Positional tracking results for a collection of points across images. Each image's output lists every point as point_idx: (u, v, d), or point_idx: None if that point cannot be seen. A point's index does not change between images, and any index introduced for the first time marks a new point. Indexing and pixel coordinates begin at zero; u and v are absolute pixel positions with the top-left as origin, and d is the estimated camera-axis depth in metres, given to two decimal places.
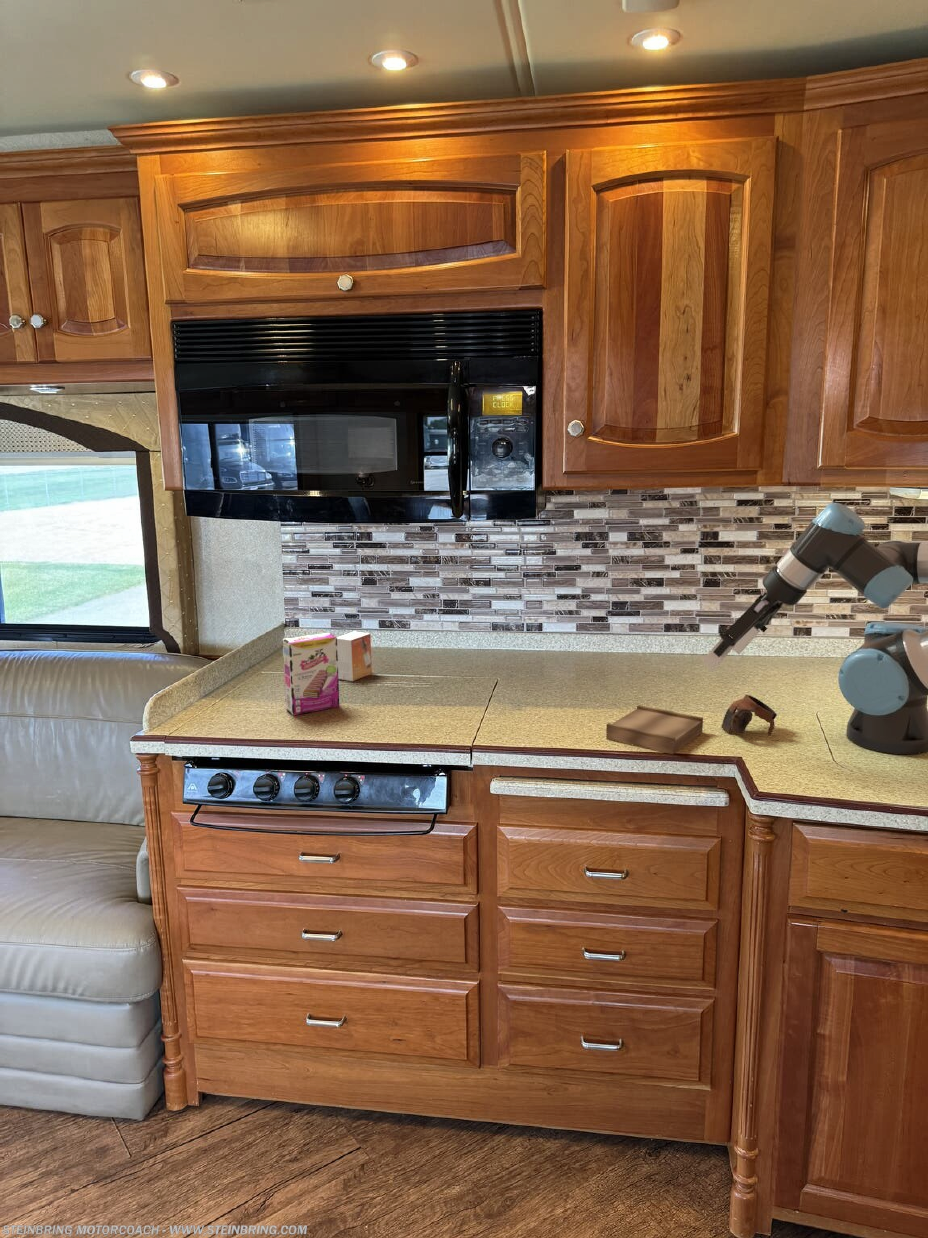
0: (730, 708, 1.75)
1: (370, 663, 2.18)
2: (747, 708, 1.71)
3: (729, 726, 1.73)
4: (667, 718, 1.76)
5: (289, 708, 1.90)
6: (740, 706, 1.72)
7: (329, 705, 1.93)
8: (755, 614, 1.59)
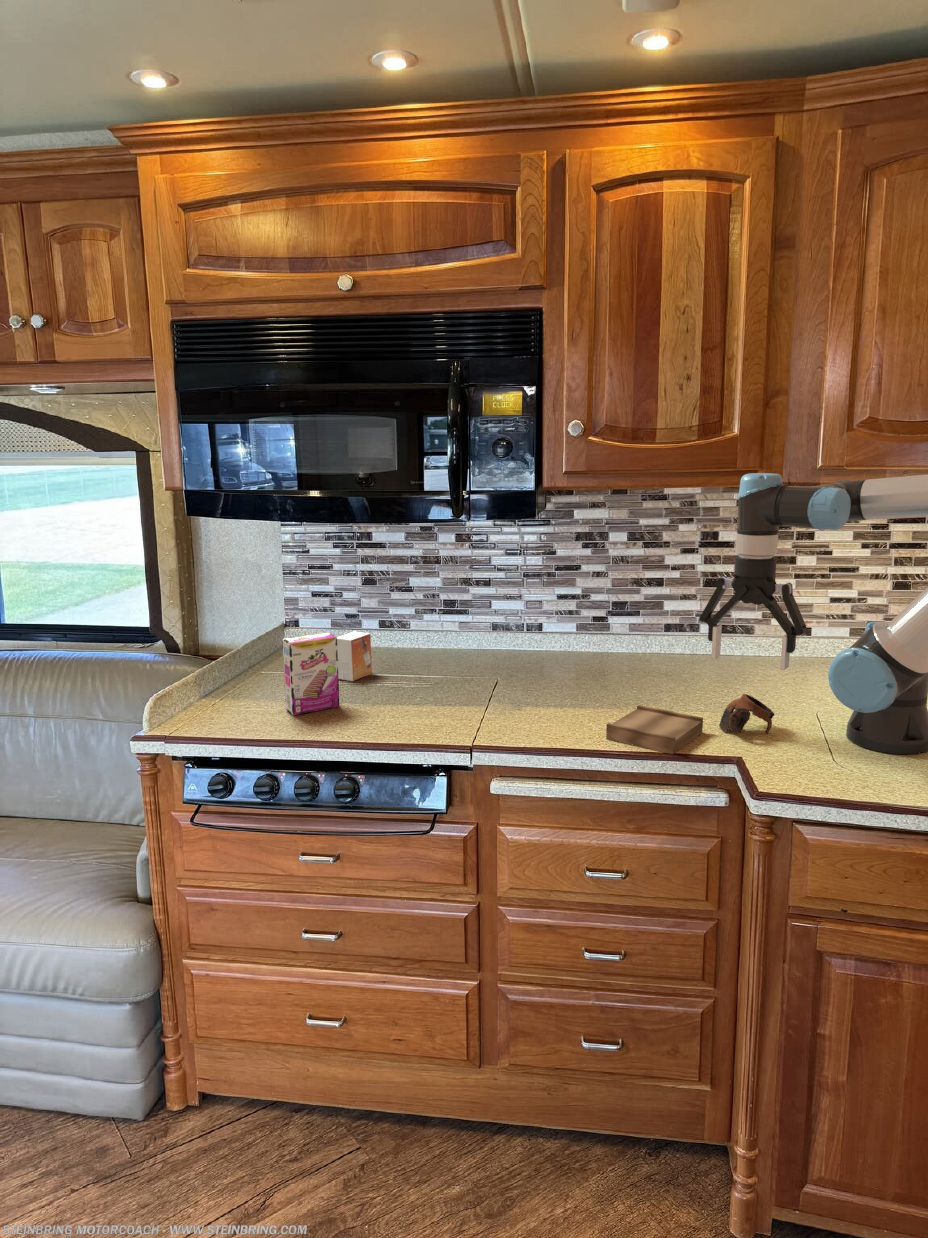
0: (728, 707, 1.75)
1: (370, 663, 2.18)
2: (745, 707, 1.72)
3: (727, 725, 1.74)
4: (667, 718, 1.76)
5: (289, 708, 1.90)
6: (737, 705, 1.73)
7: (329, 705, 1.93)
8: None
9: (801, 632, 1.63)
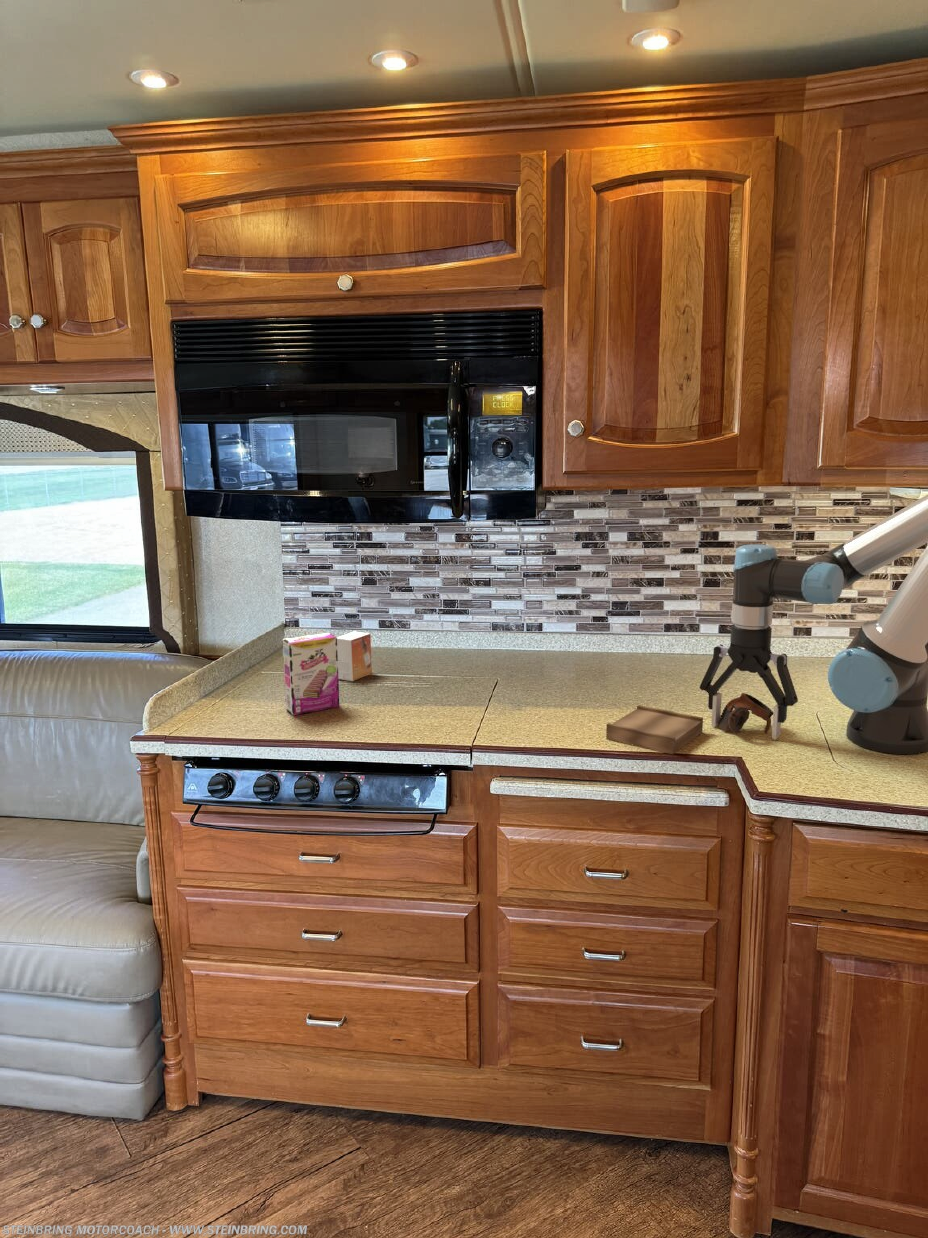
0: (727, 706, 1.75)
1: (370, 663, 2.18)
2: (744, 706, 1.72)
3: (726, 724, 1.74)
4: (667, 718, 1.76)
5: (289, 708, 1.90)
6: (737, 704, 1.73)
7: (329, 705, 1.93)
8: None
9: (792, 703, 1.66)
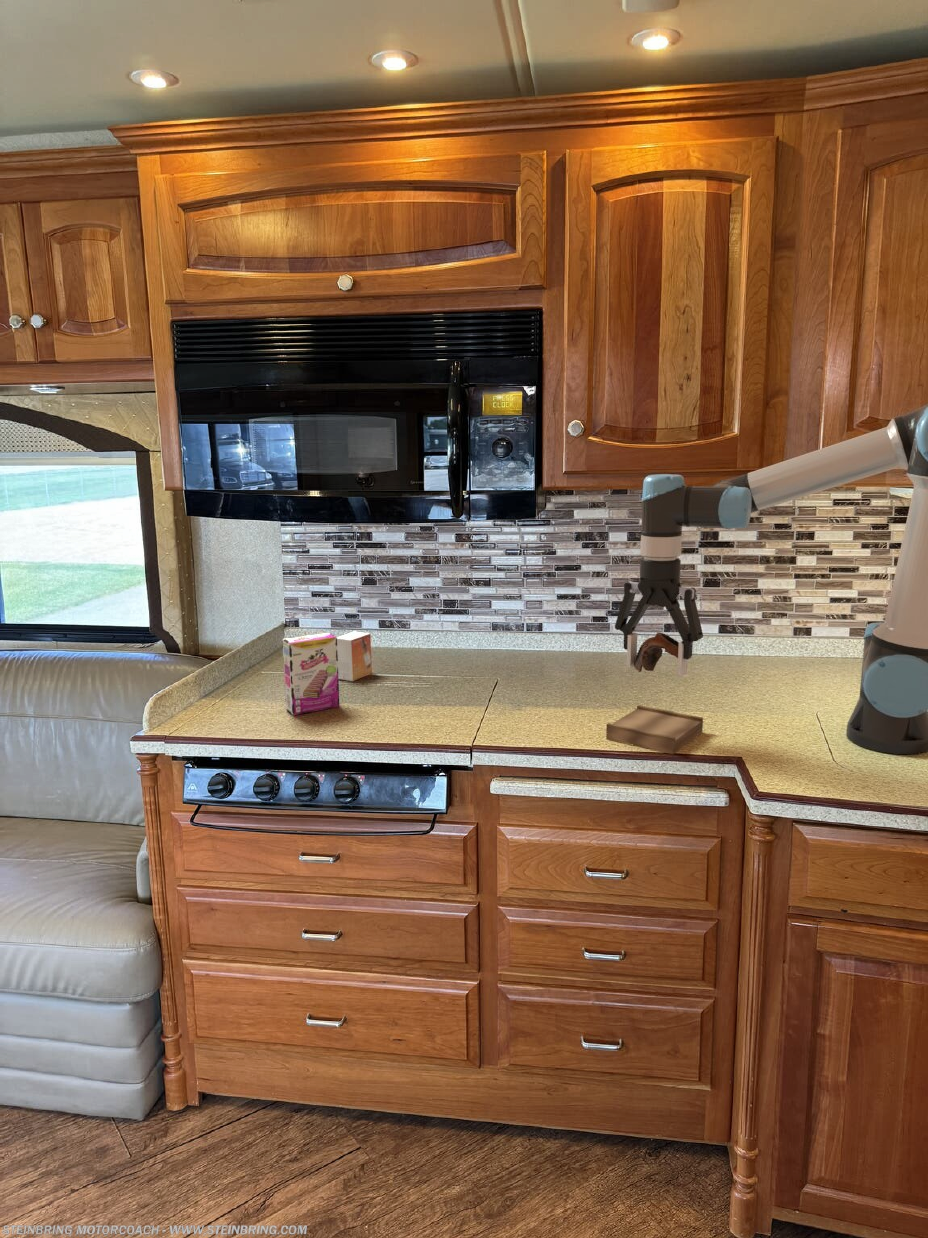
0: (642, 645, 1.71)
1: (370, 663, 2.18)
2: (658, 644, 1.68)
3: (640, 663, 1.69)
4: (667, 718, 1.76)
5: (289, 708, 1.90)
6: (651, 642, 1.69)
7: (329, 705, 1.93)
8: None
9: (696, 639, 1.63)
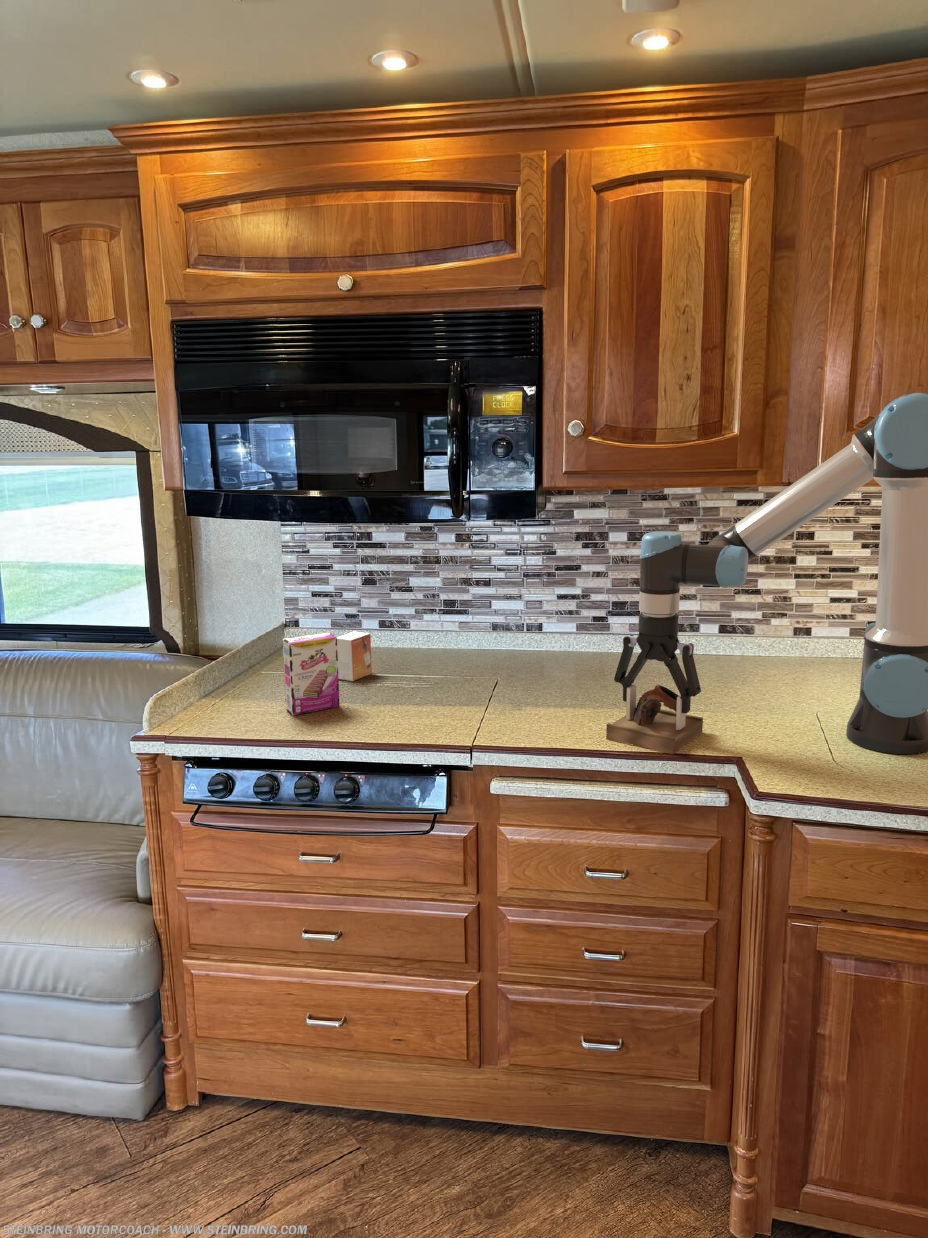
0: (641, 698, 1.73)
1: (370, 663, 2.18)
2: (656, 698, 1.70)
3: (639, 716, 1.72)
4: (667, 718, 1.76)
5: (289, 708, 1.90)
6: (649, 696, 1.71)
7: (329, 705, 1.93)
8: None
9: (694, 694, 1.65)
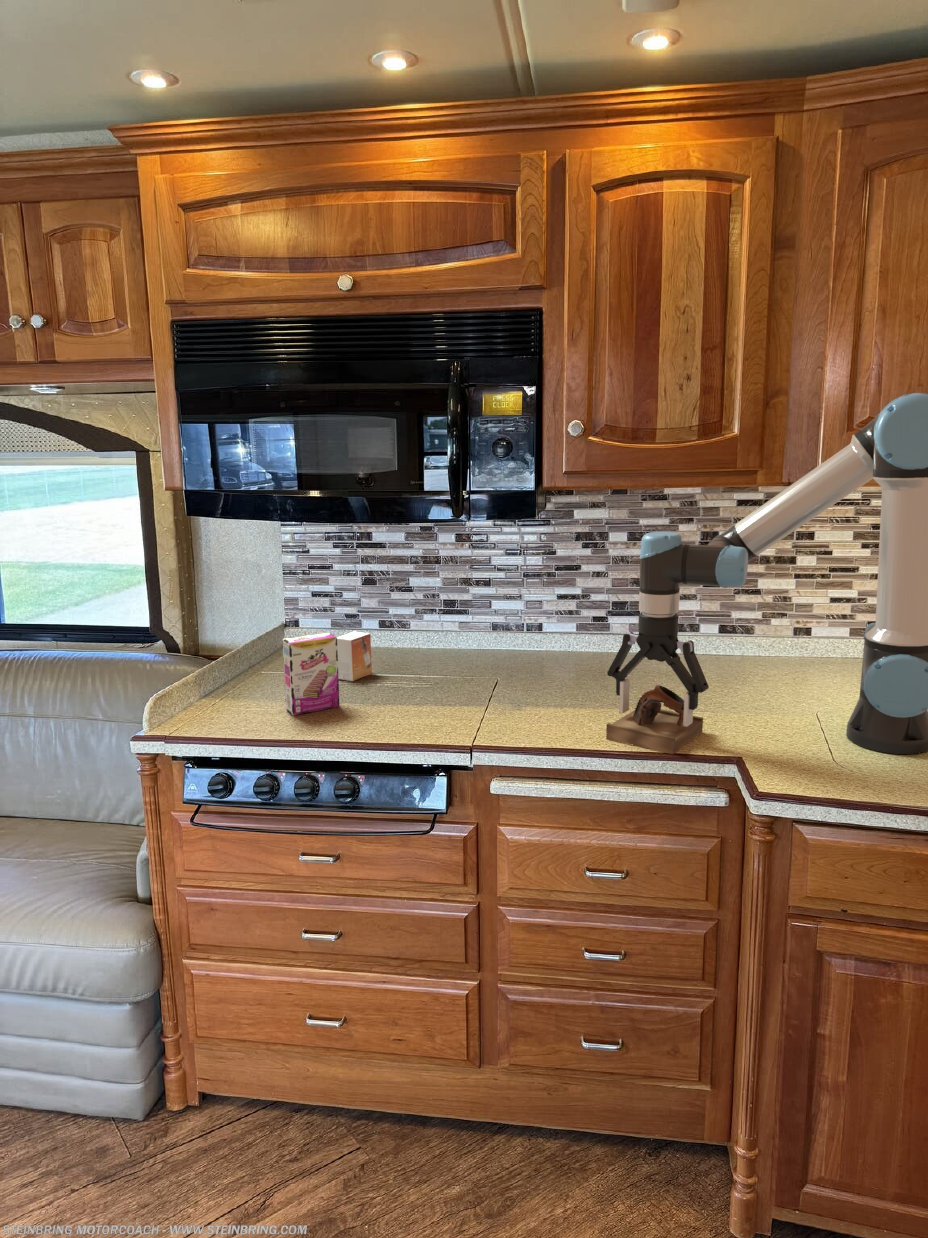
0: (641, 698, 1.73)
1: (370, 663, 2.18)
2: (656, 698, 1.70)
3: (639, 717, 1.72)
4: (667, 718, 1.76)
5: (289, 708, 1.90)
6: (649, 696, 1.71)
7: (329, 705, 1.93)
8: None
9: (701, 690, 1.64)
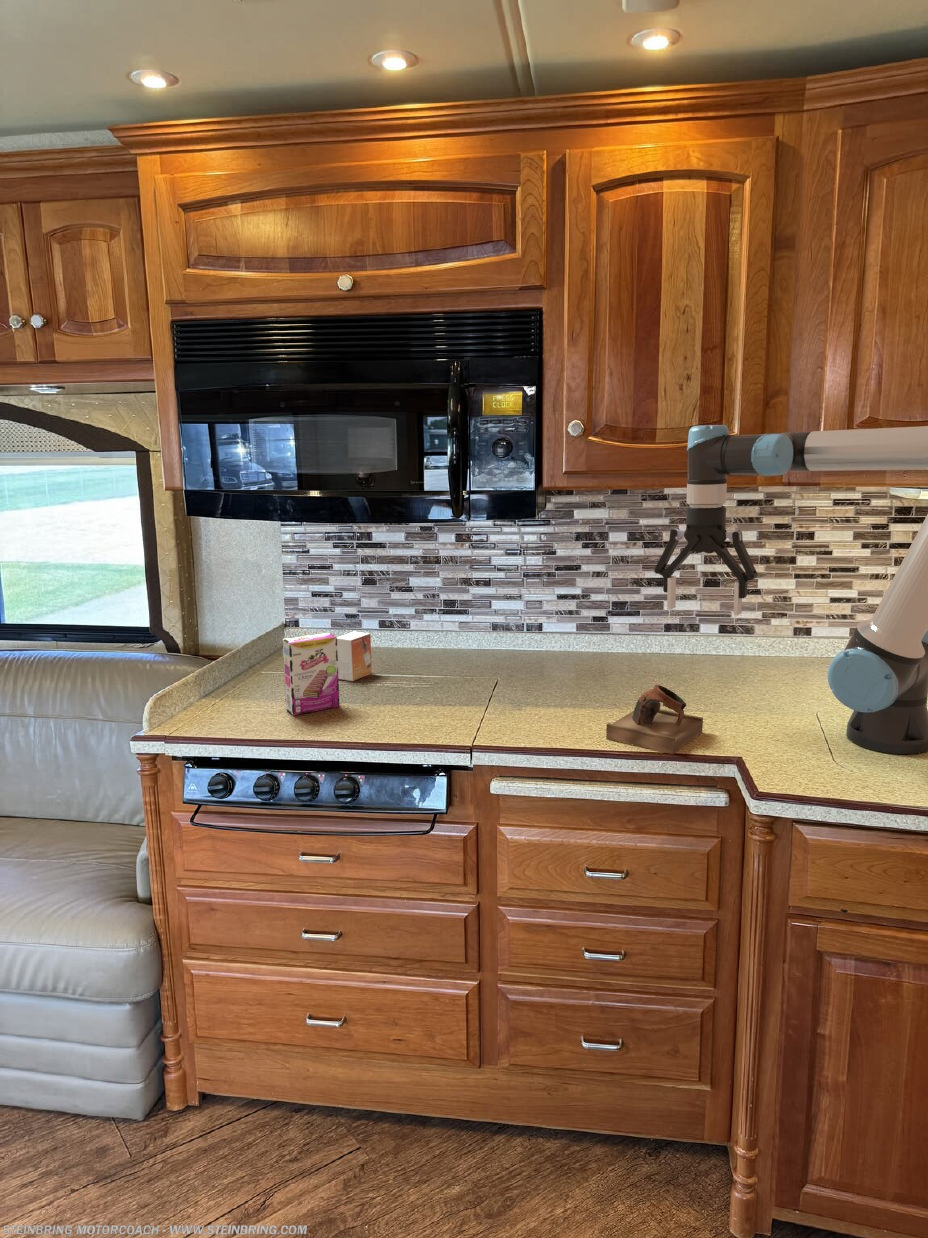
0: (640, 698, 1.73)
1: (370, 663, 2.18)
2: (655, 698, 1.70)
3: (638, 716, 1.72)
4: (667, 718, 1.76)
5: (289, 708, 1.90)
6: (649, 696, 1.71)
7: (329, 705, 1.93)
8: None
9: (752, 577, 1.68)
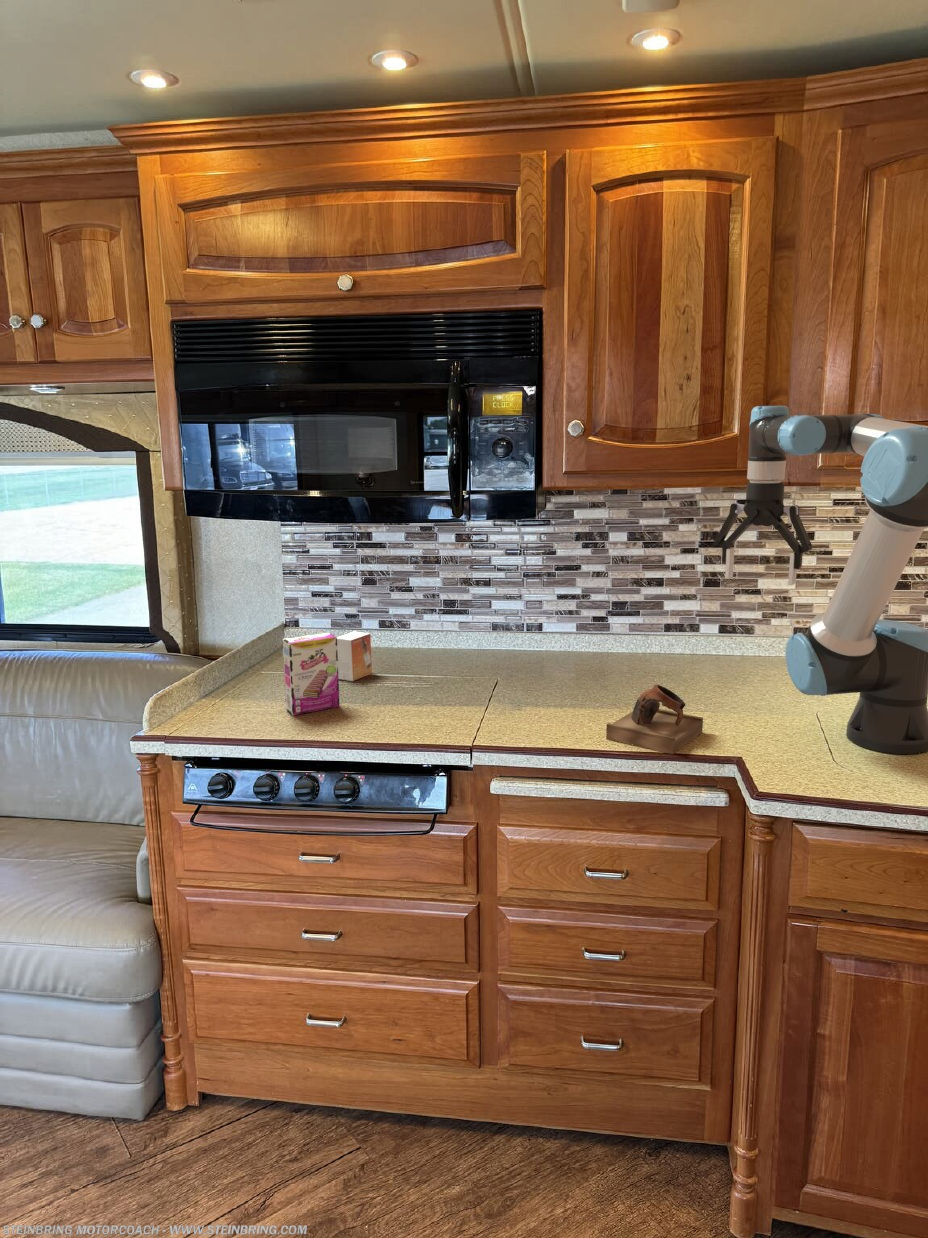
0: (639, 698, 1.73)
1: (370, 663, 2.18)
2: (655, 698, 1.70)
3: (637, 716, 1.72)
4: (667, 718, 1.76)
5: (289, 708, 1.90)
6: (648, 695, 1.71)
7: (329, 705, 1.93)
8: None
9: (807, 549, 1.79)
